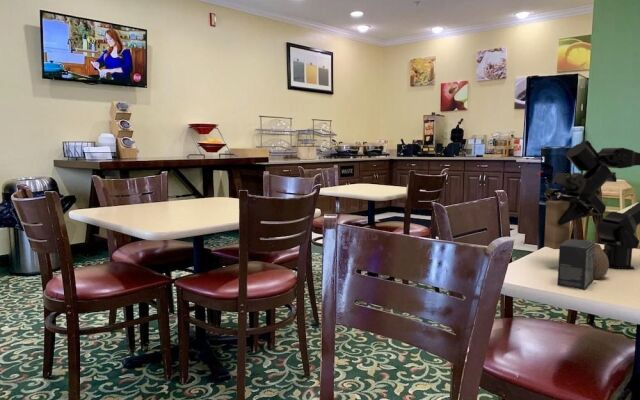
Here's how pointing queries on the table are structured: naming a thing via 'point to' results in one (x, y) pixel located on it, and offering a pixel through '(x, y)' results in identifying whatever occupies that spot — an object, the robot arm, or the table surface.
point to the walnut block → (556, 224)
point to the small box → (576, 263)
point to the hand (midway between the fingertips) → (553, 222)
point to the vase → (600, 263)
